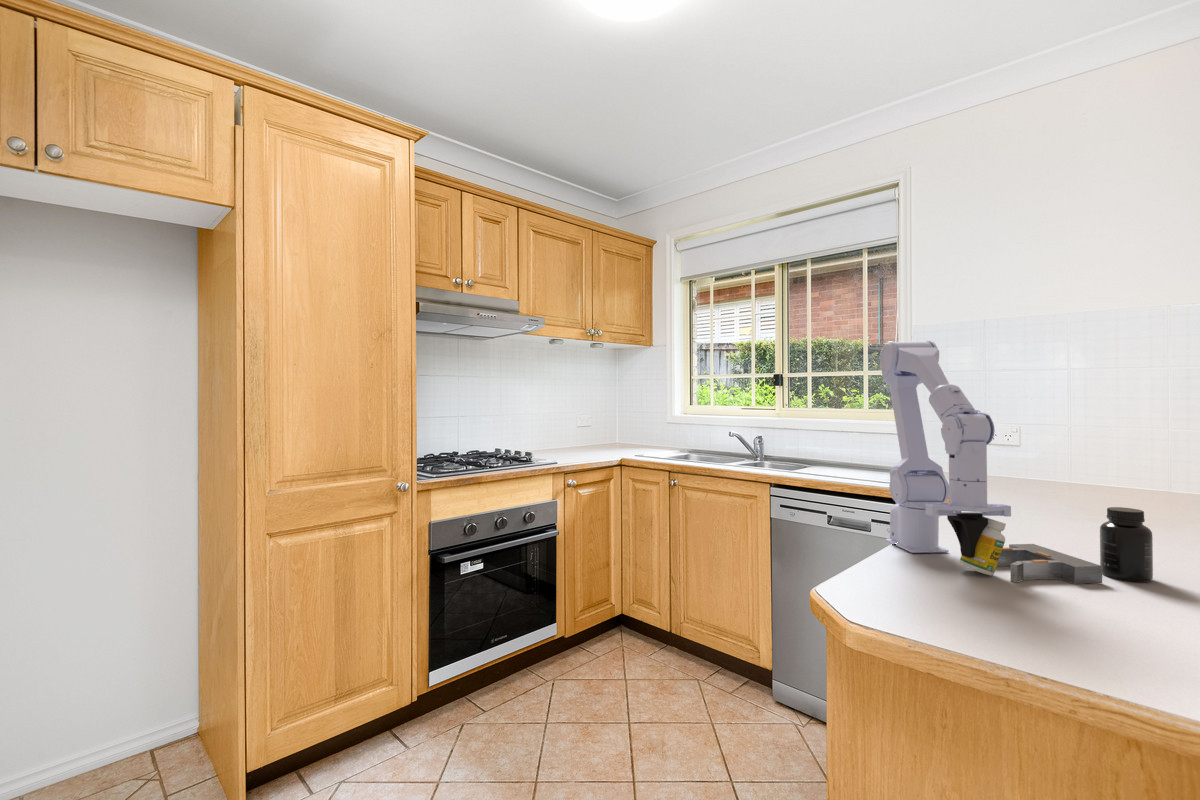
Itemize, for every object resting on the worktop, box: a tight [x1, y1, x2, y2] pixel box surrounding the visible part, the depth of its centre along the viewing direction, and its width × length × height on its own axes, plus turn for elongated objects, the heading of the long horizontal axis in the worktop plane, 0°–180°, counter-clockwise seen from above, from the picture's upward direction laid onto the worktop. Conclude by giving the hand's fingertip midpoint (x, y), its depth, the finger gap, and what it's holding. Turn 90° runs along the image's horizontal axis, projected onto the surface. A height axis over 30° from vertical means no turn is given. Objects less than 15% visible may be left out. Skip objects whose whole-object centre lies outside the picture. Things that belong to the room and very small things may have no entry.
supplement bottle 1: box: [959, 516, 1007, 577], centre depth 100 cm, size 5×5×10 cm
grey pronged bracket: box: [996, 543, 1103, 585], centre depth 102 cm, size 14×15×3 cm
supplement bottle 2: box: [1099, 506, 1154, 583], centre depth 99 cm, size 7×7×12 cm
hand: (968, 556), depth 100 cm, fingers closed, pressing on supplement bottle 1
